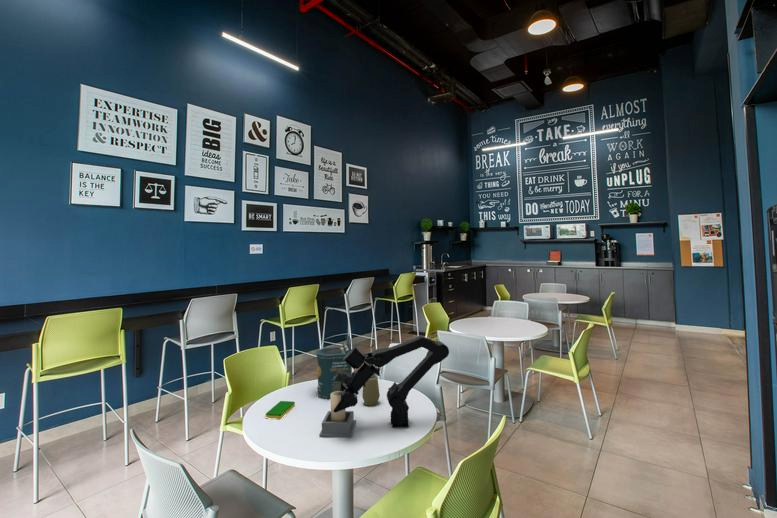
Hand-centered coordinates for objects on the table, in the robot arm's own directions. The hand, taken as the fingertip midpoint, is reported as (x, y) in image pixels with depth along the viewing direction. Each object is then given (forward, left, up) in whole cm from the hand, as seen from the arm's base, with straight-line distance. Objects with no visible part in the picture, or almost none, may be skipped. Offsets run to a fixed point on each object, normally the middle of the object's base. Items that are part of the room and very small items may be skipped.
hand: (334, 406), depth 140 cm
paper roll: (-1, 0, -8) cm, 8 cm away
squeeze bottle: (-11, -25, -9) cm, 29 cm away
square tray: (-1, 0, -9) cm, 9 cm away
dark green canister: (+9, -38, -9) cm, 40 cm away
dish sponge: (+28, -16, -10) cm, 34 cm away
